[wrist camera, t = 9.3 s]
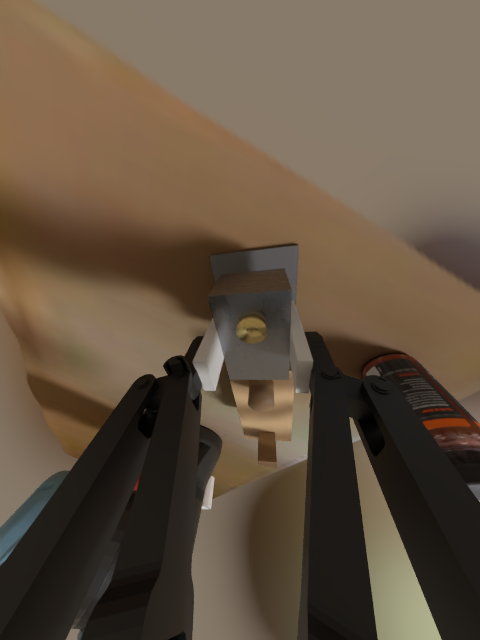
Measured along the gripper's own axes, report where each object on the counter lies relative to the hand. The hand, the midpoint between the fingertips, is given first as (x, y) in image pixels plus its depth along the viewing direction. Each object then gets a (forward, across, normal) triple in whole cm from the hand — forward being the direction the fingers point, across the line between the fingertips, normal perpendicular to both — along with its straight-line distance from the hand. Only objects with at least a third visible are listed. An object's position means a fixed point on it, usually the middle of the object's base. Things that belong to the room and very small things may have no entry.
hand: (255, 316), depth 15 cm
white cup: (+4, -23, -65) cm, 69 cm away
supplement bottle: (+4, +15, -11) cm, 19 cm away
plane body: (+4, 0, -14) cm, 15 cm away
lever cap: (0, 0, 0) cm, 0 cm away
